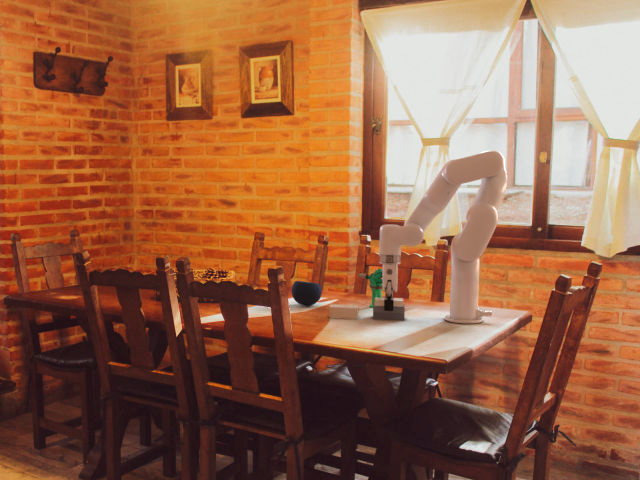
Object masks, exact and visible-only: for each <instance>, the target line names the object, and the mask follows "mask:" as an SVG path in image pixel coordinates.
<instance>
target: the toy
mask: <svg viewBox="0 0 640 480" xmlns="http://www.w3.org/2000/svg"><path fill="white" fill-rule="evenodd" d="M358 277H359V278H361V279H363V280H366V281H367V280H368V281H369V288H370V289H371V303H370V304H369V308H372V309H373V304H374V303H375V298H383V294H382V292H383V291H382V290H383V279H382V268H378V269H375V270H374V272H372V273H371V274H367V273H365V272H362V271H360V272H359V273H358Z"/></svg>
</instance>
